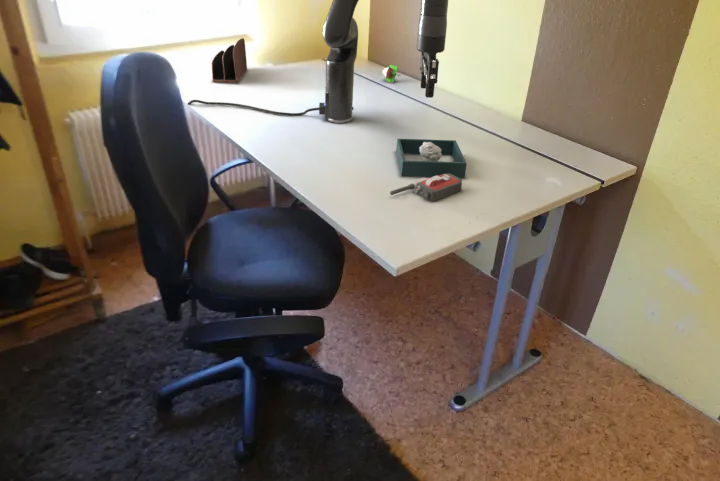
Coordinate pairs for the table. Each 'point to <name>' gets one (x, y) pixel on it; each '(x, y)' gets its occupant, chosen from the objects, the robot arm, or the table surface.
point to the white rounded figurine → (430, 152)
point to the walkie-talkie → (434, 186)
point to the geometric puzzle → (390, 73)
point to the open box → (430, 167)
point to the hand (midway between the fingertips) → (426, 92)
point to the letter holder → (230, 64)
